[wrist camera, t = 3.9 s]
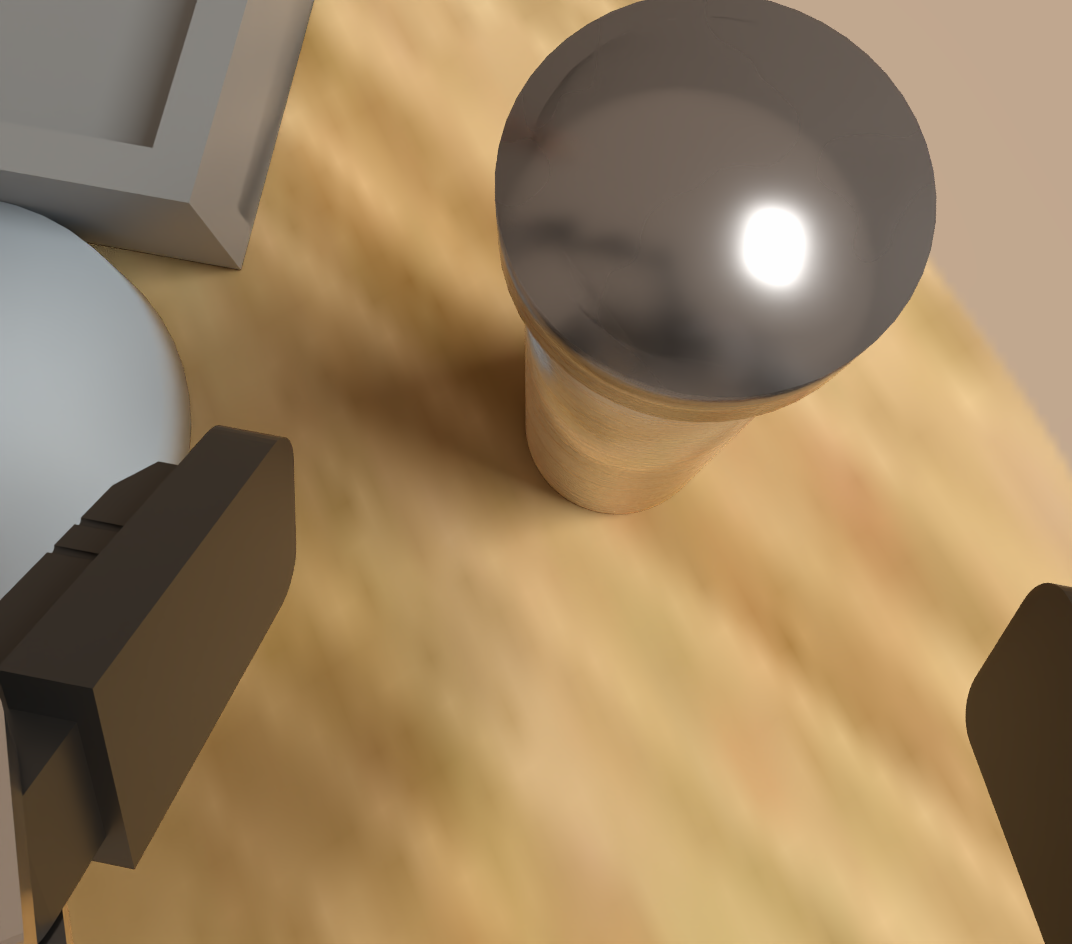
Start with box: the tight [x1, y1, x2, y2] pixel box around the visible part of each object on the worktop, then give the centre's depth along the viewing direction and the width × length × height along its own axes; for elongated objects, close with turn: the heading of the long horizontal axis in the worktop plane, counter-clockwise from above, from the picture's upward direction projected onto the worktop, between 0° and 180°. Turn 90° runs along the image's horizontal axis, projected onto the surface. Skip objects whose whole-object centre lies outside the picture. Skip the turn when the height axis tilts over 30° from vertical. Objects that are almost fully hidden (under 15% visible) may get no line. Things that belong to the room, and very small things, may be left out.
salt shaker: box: [495, 0, 936, 514], centre depth 14 cm, size 5×5×10 cm
